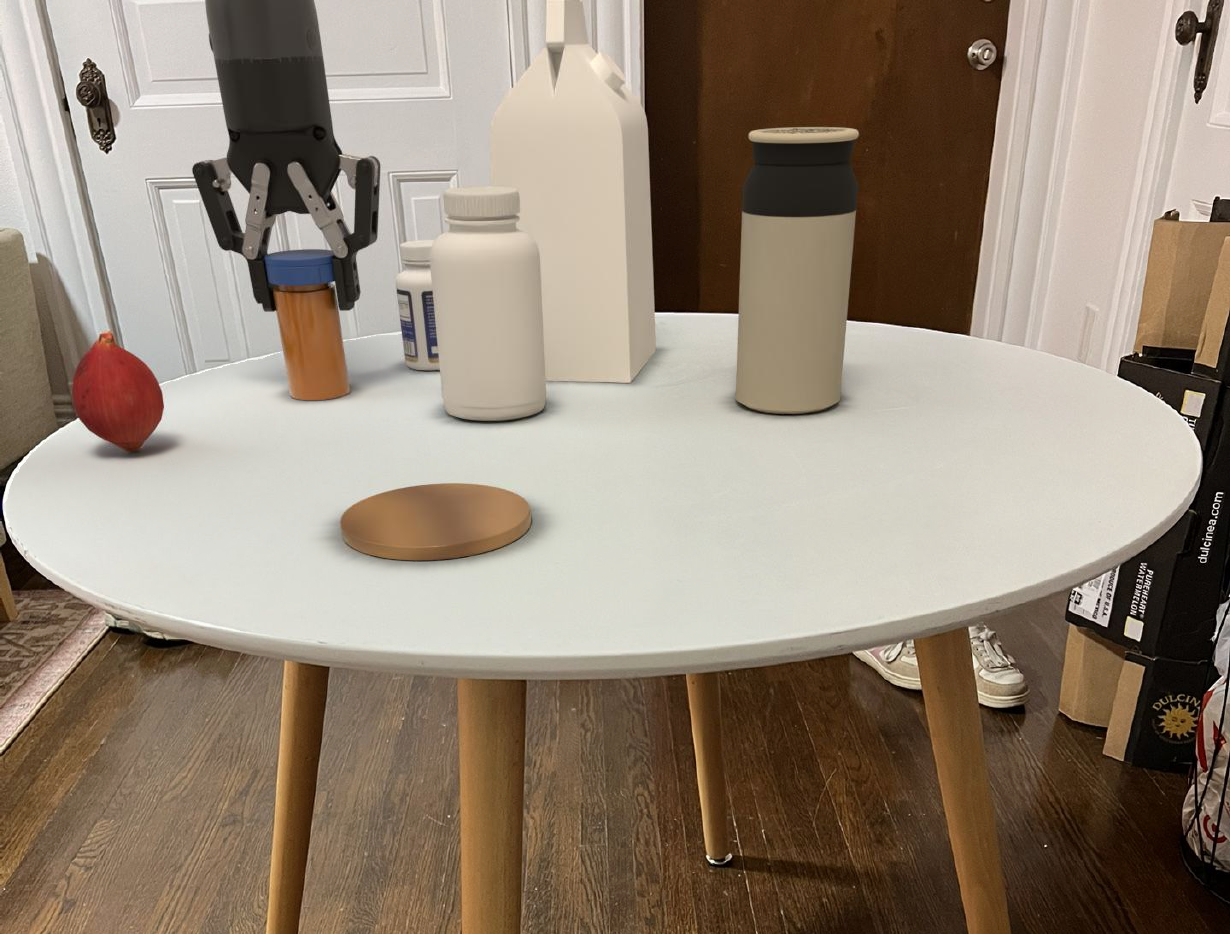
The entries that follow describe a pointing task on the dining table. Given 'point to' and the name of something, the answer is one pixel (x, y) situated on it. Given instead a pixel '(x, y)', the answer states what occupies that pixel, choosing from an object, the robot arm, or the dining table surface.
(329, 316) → the jar
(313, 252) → the lid
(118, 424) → the onion
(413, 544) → the coaster
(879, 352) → the dining table surface
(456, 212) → the pill bottle
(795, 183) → the travel mug
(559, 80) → the milk
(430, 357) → the pill bottle
